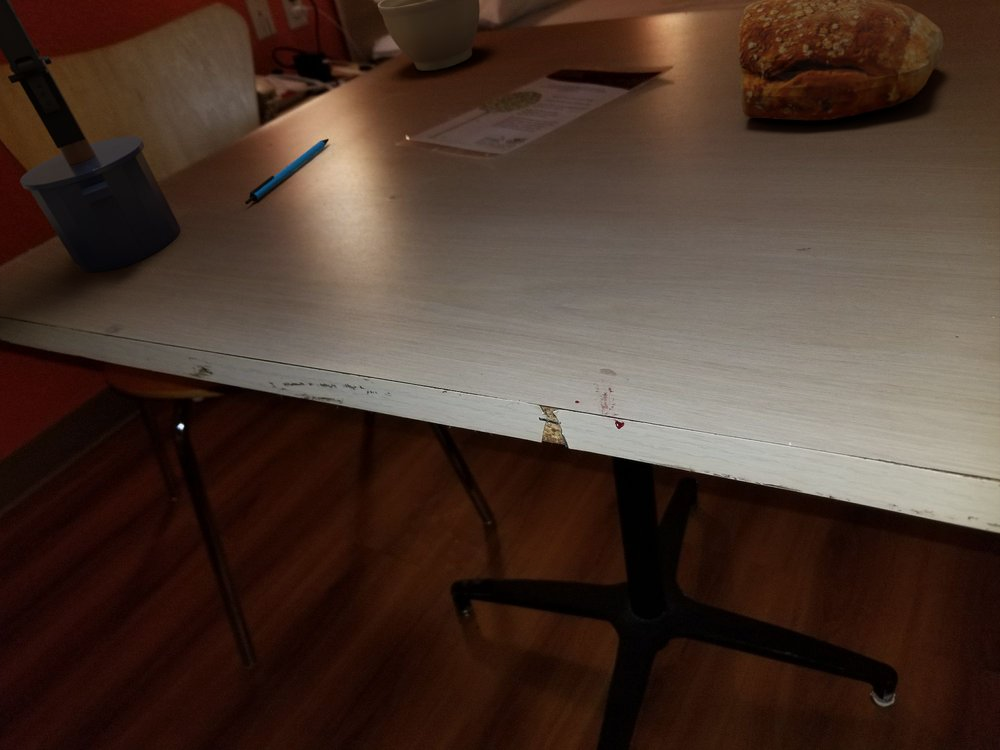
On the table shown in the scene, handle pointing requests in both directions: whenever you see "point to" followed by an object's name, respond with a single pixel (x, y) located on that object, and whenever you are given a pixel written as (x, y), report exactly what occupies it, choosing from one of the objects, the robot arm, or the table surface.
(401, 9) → the planter bowl
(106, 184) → the pot
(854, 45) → the bread
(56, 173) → the lid
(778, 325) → the table surface
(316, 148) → the pen
